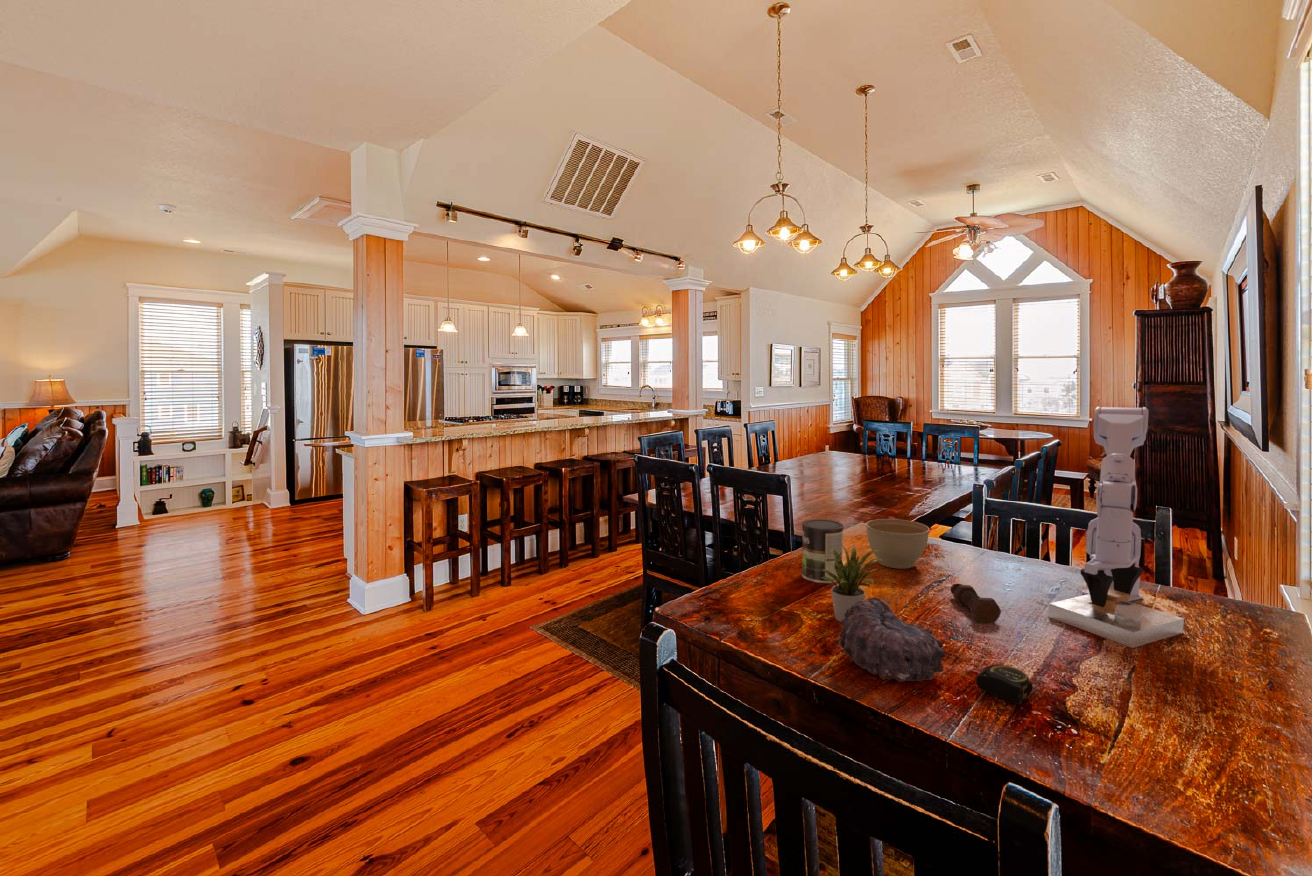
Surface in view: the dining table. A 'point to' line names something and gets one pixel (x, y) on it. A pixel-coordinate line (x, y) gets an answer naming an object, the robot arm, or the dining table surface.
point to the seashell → (889, 643)
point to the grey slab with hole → (1117, 620)
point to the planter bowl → (897, 541)
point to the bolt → (976, 603)
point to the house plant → (848, 581)
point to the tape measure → (1005, 683)
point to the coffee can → (820, 548)
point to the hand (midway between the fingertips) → (1109, 602)
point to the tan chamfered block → (1114, 599)
